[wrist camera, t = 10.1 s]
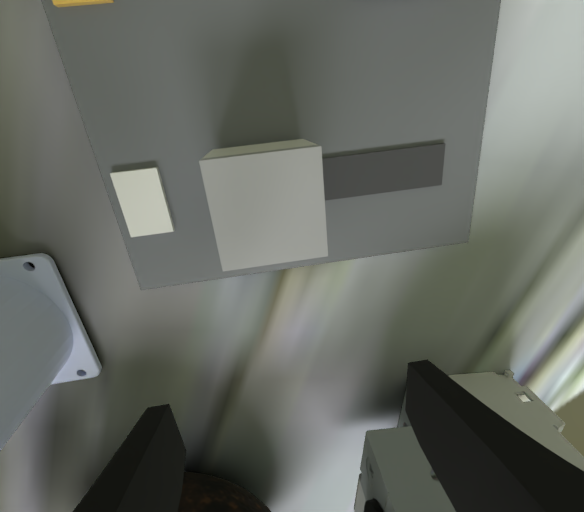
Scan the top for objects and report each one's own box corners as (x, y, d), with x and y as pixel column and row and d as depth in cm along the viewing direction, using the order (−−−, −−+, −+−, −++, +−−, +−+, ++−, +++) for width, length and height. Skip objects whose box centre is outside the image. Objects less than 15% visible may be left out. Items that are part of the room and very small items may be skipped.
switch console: (146, 281, 17) (139, 293, 16) (-17, -213, 10) (-53, -257, 9) (457, 235, 19) (471, 244, 18) (513, -233, 11) (544, -274, 10)
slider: (229, 235, 15) (222, 271, 12) (212, 149, 14) (198, 160, 10) (309, 224, 16) (327, 256, 12) (303, 138, 14) (321, 146, 10)
